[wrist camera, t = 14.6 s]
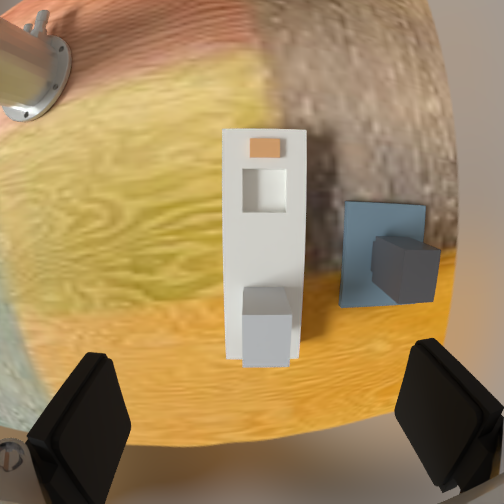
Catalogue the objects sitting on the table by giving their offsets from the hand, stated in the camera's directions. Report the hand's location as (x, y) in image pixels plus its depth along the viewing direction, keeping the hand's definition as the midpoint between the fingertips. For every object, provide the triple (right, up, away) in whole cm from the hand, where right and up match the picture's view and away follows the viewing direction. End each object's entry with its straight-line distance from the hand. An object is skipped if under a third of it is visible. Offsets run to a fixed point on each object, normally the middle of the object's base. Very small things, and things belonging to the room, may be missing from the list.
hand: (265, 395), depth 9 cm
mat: (+15, +4, +26) cm, 30 cm away
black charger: (+15, +4, +25) cm, 29 cm away
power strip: (+1, +5, +26) cm, 26 cm away
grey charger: (+1, -1, +25) cm, 25 cm away
